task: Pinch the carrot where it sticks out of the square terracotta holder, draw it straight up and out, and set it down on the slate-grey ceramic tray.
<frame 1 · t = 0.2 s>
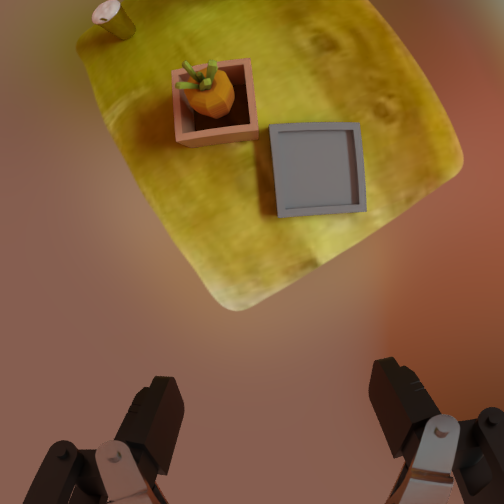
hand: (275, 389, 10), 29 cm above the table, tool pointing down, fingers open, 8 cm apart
tray: (317, 168, 35), on the table
carrot: (221, 111, 33), on the table
milkshake: (128, 34, 29), on the table
holder: (221, 111, 33), on the table
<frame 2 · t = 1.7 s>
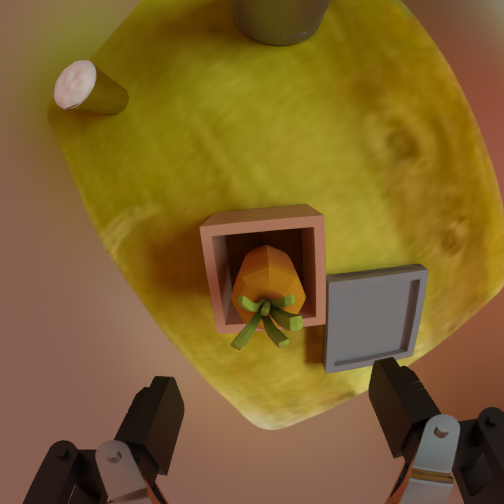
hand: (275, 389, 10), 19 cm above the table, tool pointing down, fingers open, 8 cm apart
tray: (372, 316, 29), on the table
carrot: (265, 252, 28), on the table
milkshake: (117, 104, 23), on the table
holder: (265, 253, 27), on the table
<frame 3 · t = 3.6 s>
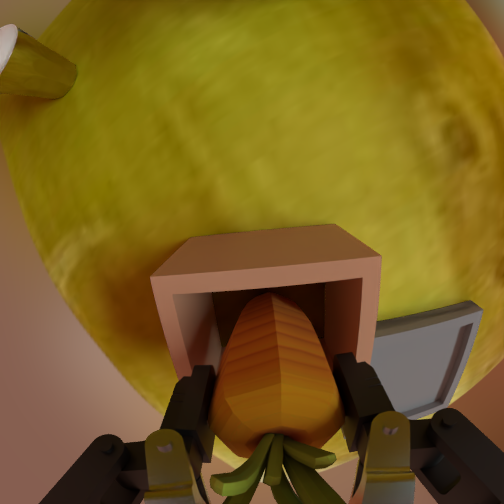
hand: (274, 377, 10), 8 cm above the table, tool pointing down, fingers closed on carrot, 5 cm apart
tray: (407, 369, 20), on the table
carrot: (268, 296, 18), on the table, touching gripper
milkshake: (64, 84, 14), on the table
holder: (269, 297, 18), on the table
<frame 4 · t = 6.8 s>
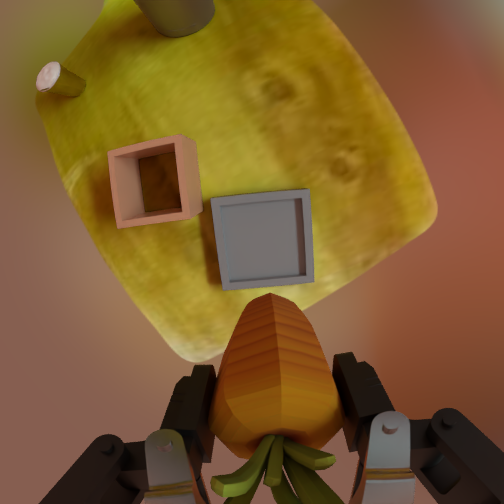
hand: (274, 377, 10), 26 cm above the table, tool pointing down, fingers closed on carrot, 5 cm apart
tray: (264, 238, 36), on the table
carrot: (268, 297, 18), point 18 cm above the table, touching gripper
milkshake: (79, 89, 30), on the table
holder: (166, 181, 34), on the table
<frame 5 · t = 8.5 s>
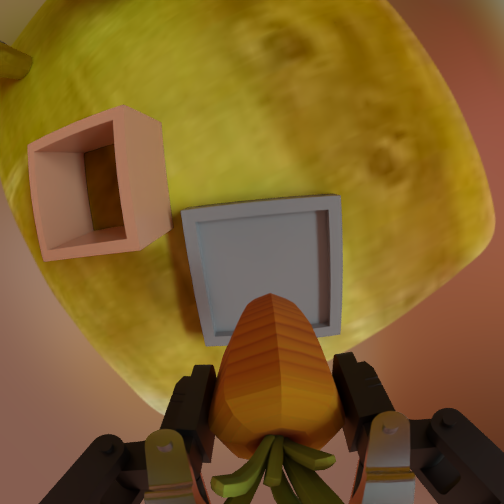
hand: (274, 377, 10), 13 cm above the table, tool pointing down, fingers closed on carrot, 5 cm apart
tray: (267, 270, 23), on the table
carrot: (268, 297, 18), point 5 cm above the table, touching gripper
milkshake: (25, 70, 17), on the table
holder: (119, 183, 21), on the table
when the fingers open (10 cm above the table, at t = 10.0 s): carrot drops 1 cm, resting on tray.
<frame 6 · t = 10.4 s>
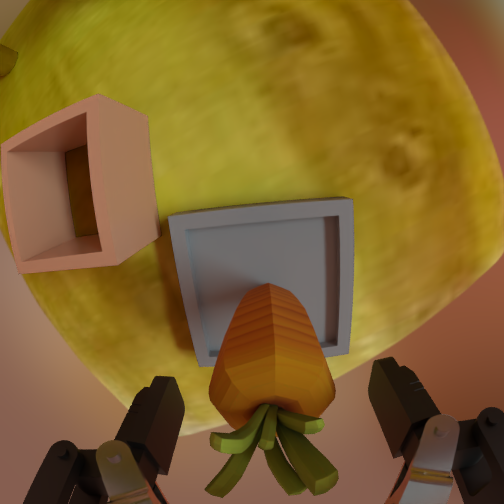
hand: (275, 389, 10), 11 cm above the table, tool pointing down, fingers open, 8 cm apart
tray: (267, 283, 20), on the table
carrot: (267, 288, 19), point 1 cm above the table, touching tray
milkshake: (11, 65, 15), on the table
holder: (102, 185, 19), on the table
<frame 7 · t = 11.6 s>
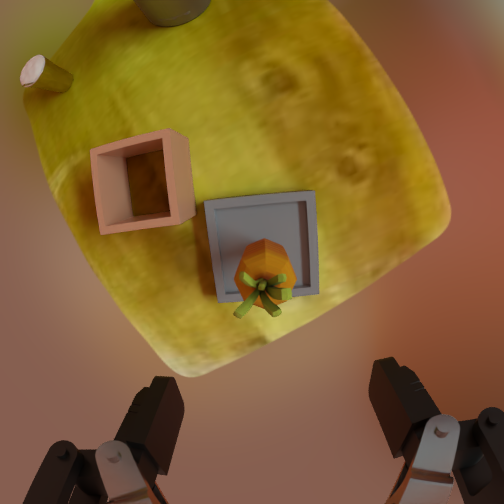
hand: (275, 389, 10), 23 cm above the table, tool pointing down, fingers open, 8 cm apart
tray: (264, 245, 32), on the table
carrot: (263, 247, 31), point 1 cm above the table, touching tray
milkshake: (67, 85, 27), on the table
holder: (156, 181, 30), on the table
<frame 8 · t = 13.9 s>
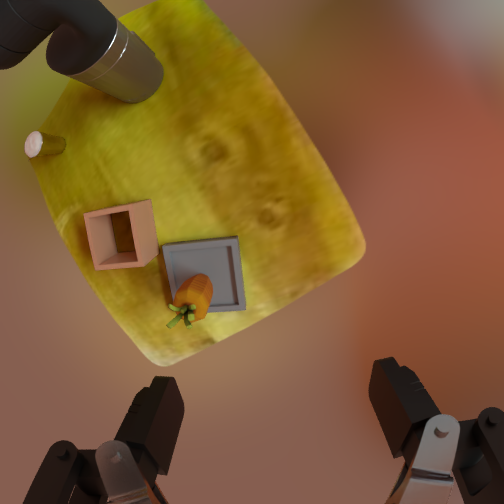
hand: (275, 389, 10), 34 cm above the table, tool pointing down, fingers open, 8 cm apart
tray: (206, 274, 45), on the table
carrot: (204, 276, 44), point 1 cm above the table, touching tray
milkshake: (61, 147, 39), on the table
holder: (131, 229, 43), on the table
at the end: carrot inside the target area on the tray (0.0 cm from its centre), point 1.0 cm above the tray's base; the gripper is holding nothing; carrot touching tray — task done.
